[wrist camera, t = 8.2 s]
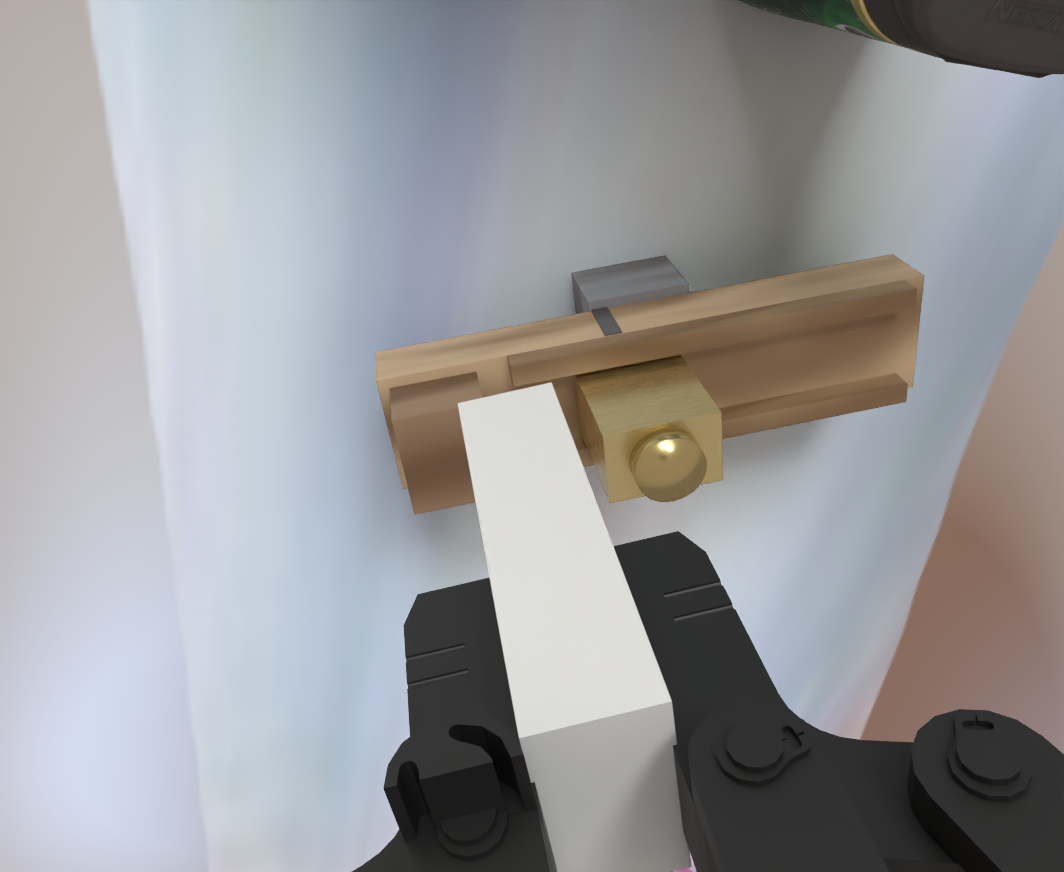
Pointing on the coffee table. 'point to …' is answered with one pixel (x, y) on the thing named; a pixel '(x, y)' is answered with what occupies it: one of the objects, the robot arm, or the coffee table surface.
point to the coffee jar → (949, 28)
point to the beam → (662, 331)
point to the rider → (650, 429)
